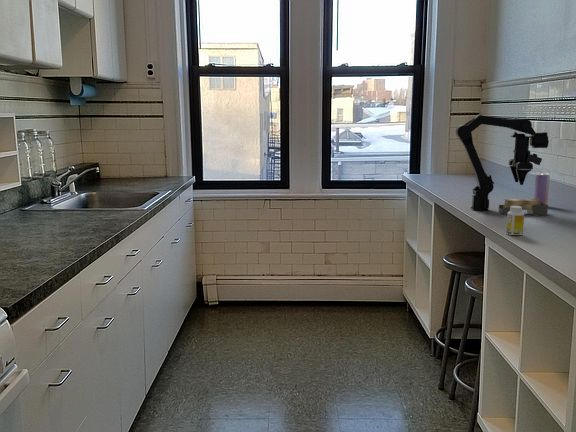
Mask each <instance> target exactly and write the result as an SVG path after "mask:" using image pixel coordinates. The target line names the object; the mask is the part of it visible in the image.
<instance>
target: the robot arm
mask: <svg viewBox="0 0 576 432" xmlns="http://www.w3.org/2000/svg"><path fill="white" fill-rule="evenodd" d="M481 125H485V126H494V127H500V128H501V127H502V128H506V129H510V130H513V131H514V132H513V134H511V135H510V138H515V139H514V140H515V141H514V149H513V151H512V152H513V154H514V155H513V158H510V159H509V160H508V166H509V168H510V171H511V174H512V177H513V179H514V183H519V185H520V186H523V185H524V183H525V180H526V178H527V175H528V173H530V172H532V170H533V169H534V164H535V165H537V166H541V163H542V161H543V158H541V157H539V156H538V154H537V153H533V152H532V153H531V151H530V150H529V148H530V147H532V149H547V148H548V146H549V142H550V140H549V136H548V132H546V131H542V132H536V131H535V130H534V128H533V127H532V126H533V123H532V121H531V120H530V119H527V118H509V119H508V118H501V117H493V116H488V115H487V116H486V115H482V114H477V115H476V116H475V117H473V118H472V119H470V120H469V121H467V122H466V123H464V124H459V125H458V126H457V127H456V128H455V132H454V133H455V135H456V136H457V138H458V140H459V141H460V142H461V144H462V145H463V147H464V149H465V152H466V155H467V157H468V160H469V161H470V164H471V166H472V169H473V171H474V174H475V179H476V186H475V187H474V188H473V189H472V197H471V198H472V199H471V206H470V209H471V210H473V211H489V208H490V199H489V195H490V193H491V192H493V190H494V184H495V182H494V181H493V178H492V175H491V174H490V173H486V171H485V169H484V166H483V165H482V162H481V160H480V157H479V155H478V152H477V150H476V147H475V145H474V142H473V141H474V140H473V134H472V132H473V131H475V130H476V129H477V128H479V126H481ZM517 132H518V133H517Z"/></svg>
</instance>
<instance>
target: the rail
mask: <svg viewBox="0 0 576 432" xmlns="http://www.w3.org/2000/svg"><path fill="white" fill-rule="evenodd" d="M541 202H542V201H541V200H539V199H534V198H533V199H532V198H507V199H506V198H505V199H504V205H505V207H510V206H521V207H522V211H527V210H532V206H533V205H541Z"/></svg>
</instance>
